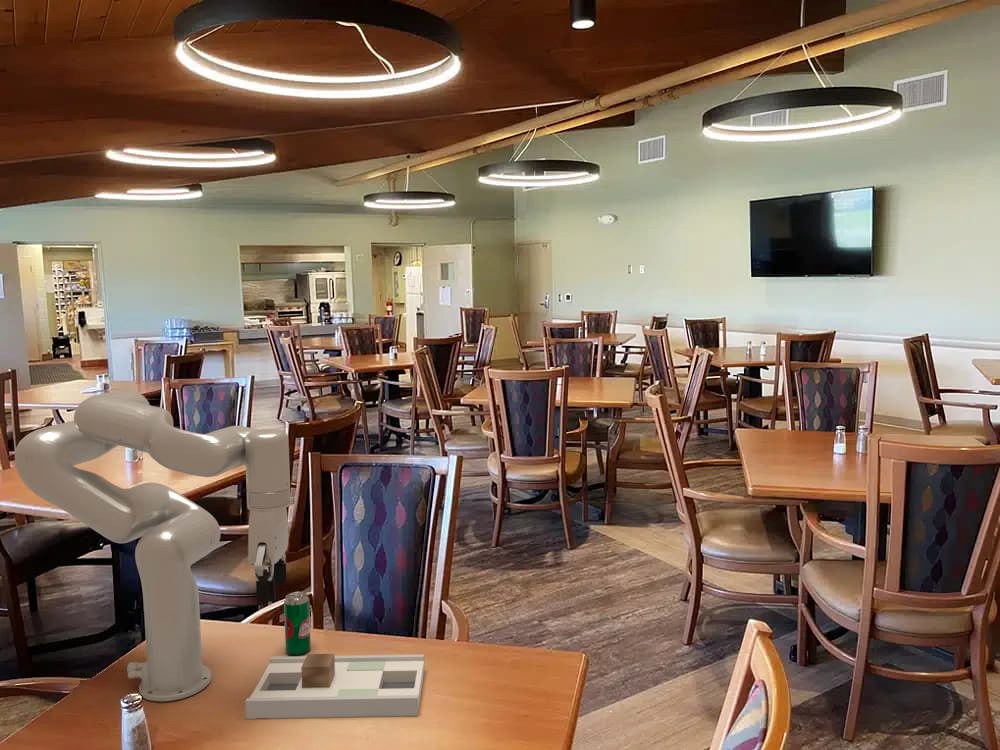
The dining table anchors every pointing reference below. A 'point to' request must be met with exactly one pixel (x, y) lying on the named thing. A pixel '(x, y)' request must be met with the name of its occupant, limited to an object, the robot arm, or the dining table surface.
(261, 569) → the robot arm
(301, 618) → the soda can
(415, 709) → the box
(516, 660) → the dining table surface
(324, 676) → the walnut block
